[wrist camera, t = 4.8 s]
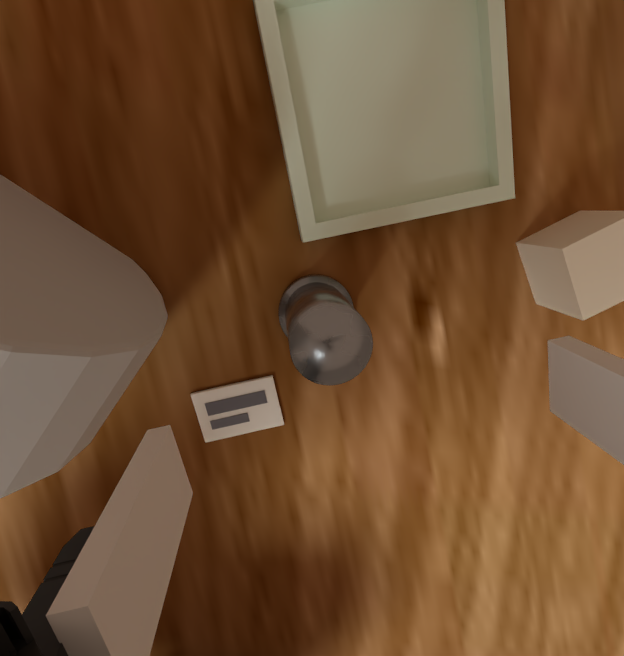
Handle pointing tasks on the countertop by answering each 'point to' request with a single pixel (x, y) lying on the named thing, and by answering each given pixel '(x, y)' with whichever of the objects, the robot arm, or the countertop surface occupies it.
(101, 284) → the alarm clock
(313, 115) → the tray
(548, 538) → the countertop surface
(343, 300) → the metal door knob
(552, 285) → the cream block
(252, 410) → the label tile
